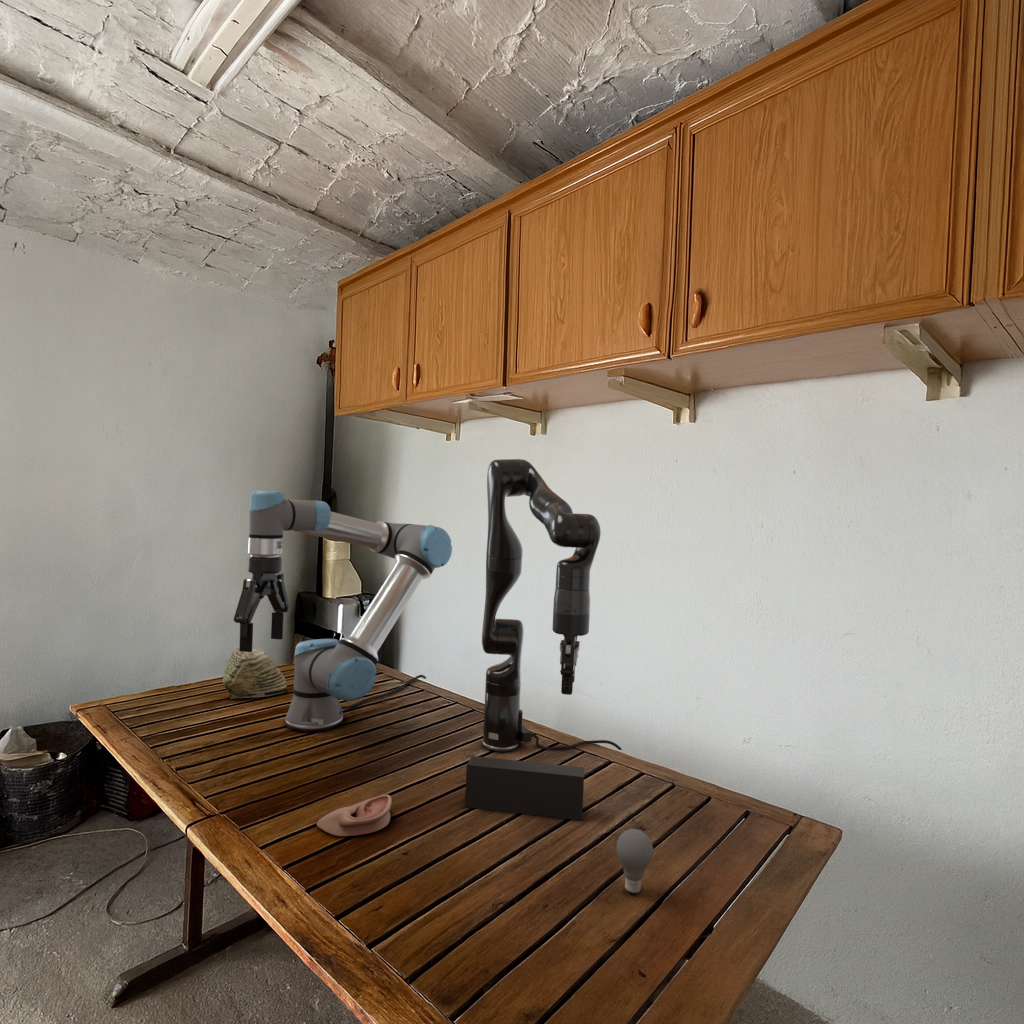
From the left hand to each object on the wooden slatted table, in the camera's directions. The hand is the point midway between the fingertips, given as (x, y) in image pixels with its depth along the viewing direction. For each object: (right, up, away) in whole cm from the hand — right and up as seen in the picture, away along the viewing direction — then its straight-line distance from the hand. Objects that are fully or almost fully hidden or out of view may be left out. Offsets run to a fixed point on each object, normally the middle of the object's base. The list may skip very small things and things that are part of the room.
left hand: (261, 645), depth 150 cm
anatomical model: (+29, -29, -27) cm, 49 cm away
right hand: (+71, -5, -19) cm, 74 cm away
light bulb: (+80, -32, -45) cm, 97 cm away
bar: (+62, -31, -18) cm, 71 cm away
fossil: (-21, -26, +48) cm, 58 cm away
